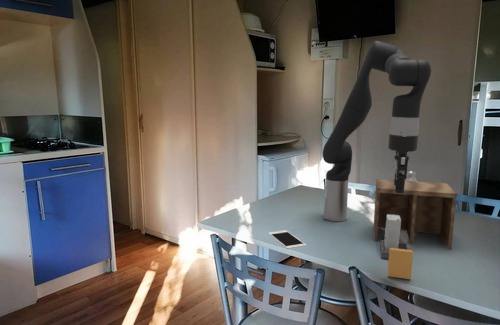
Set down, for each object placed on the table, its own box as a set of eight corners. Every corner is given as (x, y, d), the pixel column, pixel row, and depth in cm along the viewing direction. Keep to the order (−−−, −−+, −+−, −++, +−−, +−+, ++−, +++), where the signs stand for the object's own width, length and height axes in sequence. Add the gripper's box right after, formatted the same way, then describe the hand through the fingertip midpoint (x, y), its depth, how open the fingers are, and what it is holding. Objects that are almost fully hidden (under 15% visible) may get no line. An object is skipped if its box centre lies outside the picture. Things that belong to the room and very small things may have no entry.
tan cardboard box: (382, 276, 105) (384, 248, 104) (380, 245, 128) (381, 222, 126) (416, 280, 102) (418, 252, 101) (408, 248, 125) (409, 225, 124)
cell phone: (286, 231, 143) (286, 230, 143) (306, 246, 128) (306, 244, 128) (267, 234, 140) (267, 232, 140) (286, 249, 125) (286, 248, 125)
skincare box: (383, 247, 126) (385, 213, 124) (397, 249, 125) (399, 214, 123) (384, 254, 121) (386, 219, 119) (398, 256, 119) (401, 220, 117)
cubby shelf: (373, 240, 132) (377, 188, 129) (373, 226, 147) (376, 179, 144) (451, 249, 125) (456, 193, 122) (442, 233, 140) (447, 183, 137)
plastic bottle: (417, 218, 158) (421, 172, 155) (401, 217, 159) (404, 172, 156) (414, 213, 164) (417, 169, 161) (398, 212, 166) (401, 169, 162)
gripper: (388, 130, 111) (384, 182, 114) (390, 135, 97) (385, 194, 100) (415, 131, 108) (410, 184, 111) (421, 136, 95) (414, 197, 98)
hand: (398, 189), depth 106 cm, fingers open, 8 cm apart
